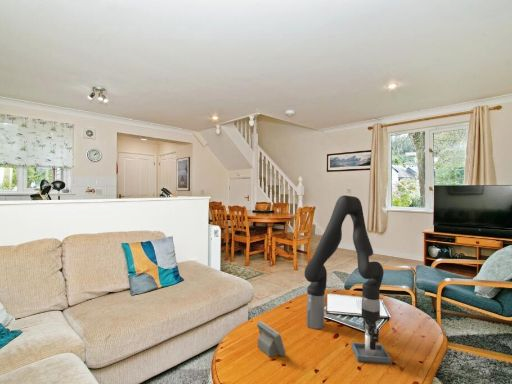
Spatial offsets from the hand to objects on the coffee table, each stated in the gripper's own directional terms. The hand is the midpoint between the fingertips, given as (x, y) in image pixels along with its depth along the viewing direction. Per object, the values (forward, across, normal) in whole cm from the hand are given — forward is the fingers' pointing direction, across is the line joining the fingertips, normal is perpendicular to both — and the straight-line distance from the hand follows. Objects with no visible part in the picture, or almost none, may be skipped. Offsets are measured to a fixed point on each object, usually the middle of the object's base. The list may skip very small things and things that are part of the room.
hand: (370, 345), depth 118 cm
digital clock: (+5, +1, -44) cm, 44 cm away
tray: (+5, 0, 0) cm, 5 cm away
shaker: (+4, 0, 0) cm, 4 cm away
